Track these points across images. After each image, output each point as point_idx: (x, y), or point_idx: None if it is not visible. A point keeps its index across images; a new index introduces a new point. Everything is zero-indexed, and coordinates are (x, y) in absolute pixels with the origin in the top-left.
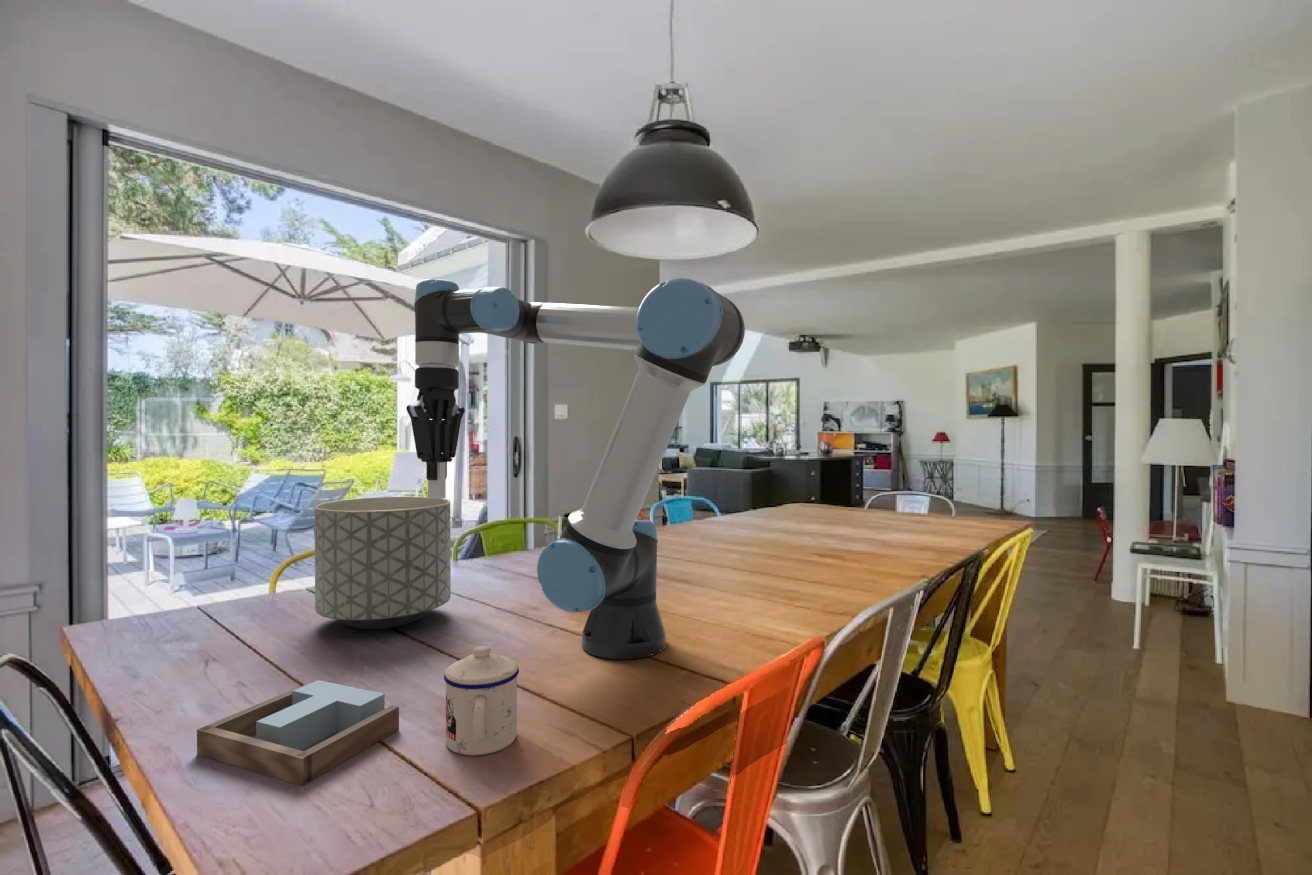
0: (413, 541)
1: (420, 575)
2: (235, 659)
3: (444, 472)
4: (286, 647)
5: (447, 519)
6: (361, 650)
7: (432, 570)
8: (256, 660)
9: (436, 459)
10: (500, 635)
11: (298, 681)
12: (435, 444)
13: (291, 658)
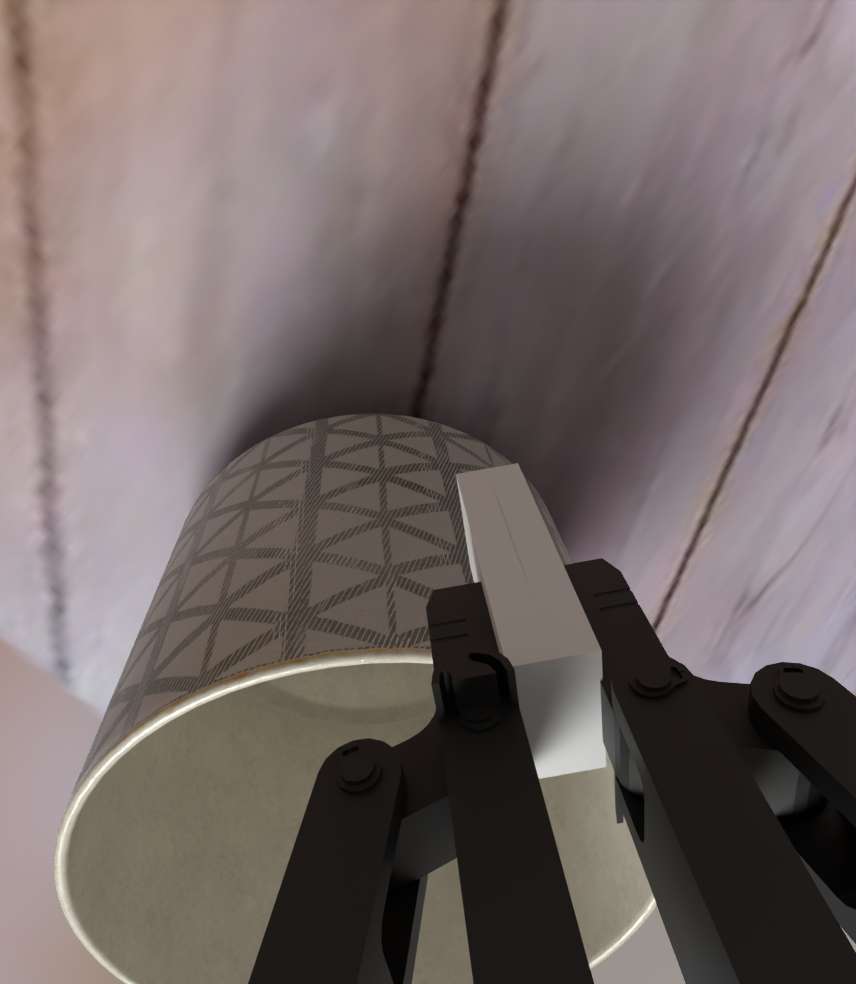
0: (439, 551)
1: (398, 470)
2: (726, 571)
3: (502, 593)
4: (628, 562)
5: (192, 640)
6: (565, 405)
7: (339, 476)
8: (715, 534)
9: (668, 673)
10: (239, 151)
11: (784, 337)
12: (776, 841)
13: (677, 488)
